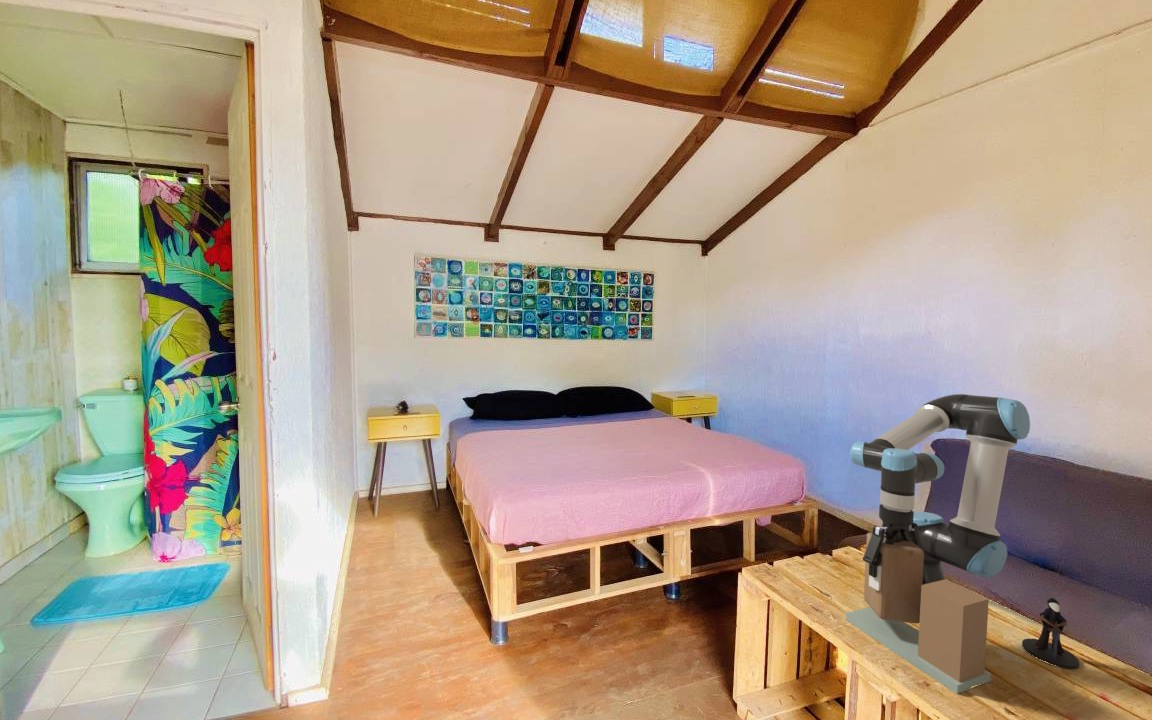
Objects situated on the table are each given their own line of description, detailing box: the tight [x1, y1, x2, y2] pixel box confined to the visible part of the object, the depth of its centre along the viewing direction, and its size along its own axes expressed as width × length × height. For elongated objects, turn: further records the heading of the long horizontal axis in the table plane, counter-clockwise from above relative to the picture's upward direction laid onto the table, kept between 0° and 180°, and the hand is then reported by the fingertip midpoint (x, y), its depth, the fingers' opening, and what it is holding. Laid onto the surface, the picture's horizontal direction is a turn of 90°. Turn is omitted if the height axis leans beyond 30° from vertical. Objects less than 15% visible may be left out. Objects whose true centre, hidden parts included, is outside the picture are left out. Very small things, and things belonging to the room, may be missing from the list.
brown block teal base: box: [845, 578, 992, 695], centre depth 115 cm, size 12×28×20 cm, turn 19°
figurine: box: [1021, 597, 1081, 670], centre depth 113 cm, size 10×10×15 cm
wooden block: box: [863, 532, 924, 624], centre depth 120 cm, size 10×10×20 cm
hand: (892, 584), depth 120 cm, fingers closed on wooden block, 13 cm apart
